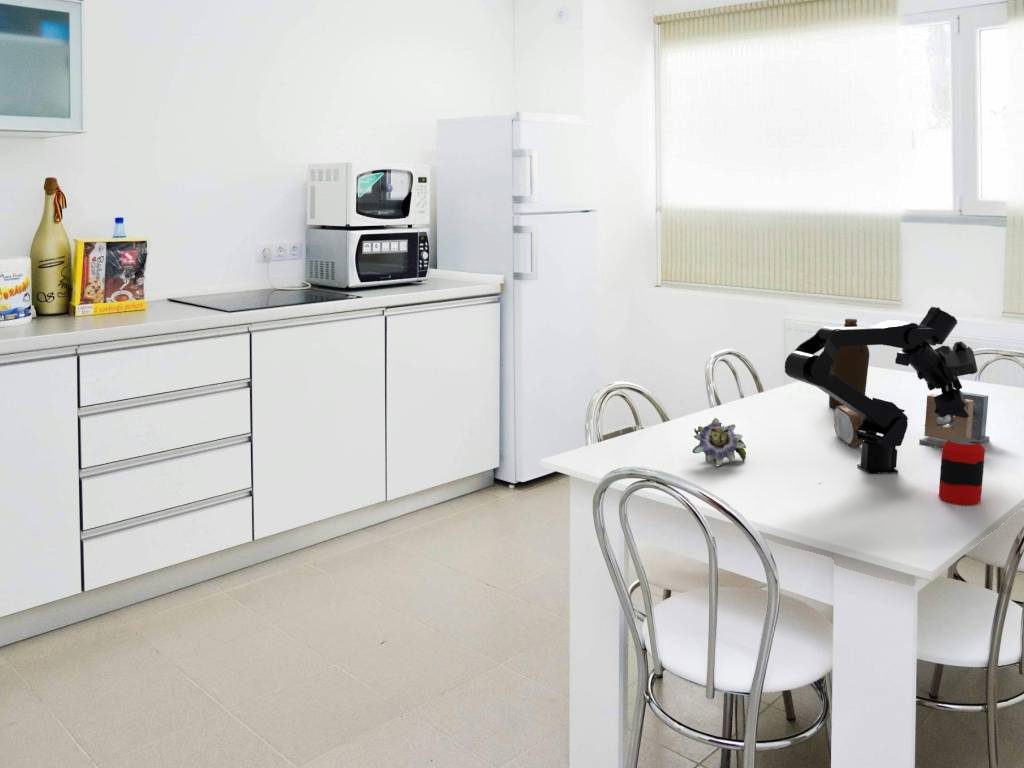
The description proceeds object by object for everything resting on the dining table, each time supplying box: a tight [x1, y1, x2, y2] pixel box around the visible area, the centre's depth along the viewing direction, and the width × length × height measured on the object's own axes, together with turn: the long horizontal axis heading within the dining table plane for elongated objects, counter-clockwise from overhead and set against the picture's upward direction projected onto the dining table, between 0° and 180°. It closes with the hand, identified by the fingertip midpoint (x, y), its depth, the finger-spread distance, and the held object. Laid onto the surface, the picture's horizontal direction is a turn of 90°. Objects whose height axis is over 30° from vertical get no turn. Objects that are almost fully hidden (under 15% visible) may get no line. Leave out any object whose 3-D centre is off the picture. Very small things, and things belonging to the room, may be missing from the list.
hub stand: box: [918, 391, 991, 449], centre depth 229 cm, size 14×10×11 cm
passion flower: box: [692, 417, 747, 466], centre depth 217 cm, size 11×11×12 cm
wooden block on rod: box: [923, 393, 974, 440], centre depth 226 cm, size 2×10×10 cm, turn 39°
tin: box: [833, 405, 863, 447], centre depth 231 cm, size 15×3×8 cm, turn 179°
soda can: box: [938, 437, 986, 506], centre depth 186 cm, size 8×8×12 cm
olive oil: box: [828, 318, 870, 409], centre depth 266 cm, size 11×11×25 cm
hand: (963, 402), depth 214 cm, fingers open, 9 cm apart
